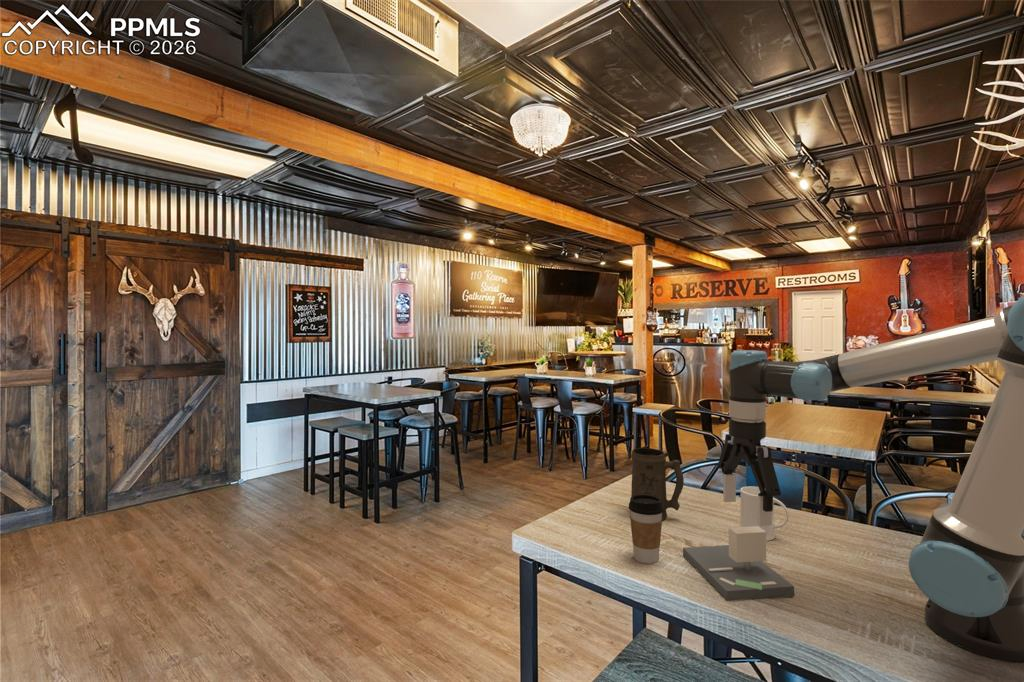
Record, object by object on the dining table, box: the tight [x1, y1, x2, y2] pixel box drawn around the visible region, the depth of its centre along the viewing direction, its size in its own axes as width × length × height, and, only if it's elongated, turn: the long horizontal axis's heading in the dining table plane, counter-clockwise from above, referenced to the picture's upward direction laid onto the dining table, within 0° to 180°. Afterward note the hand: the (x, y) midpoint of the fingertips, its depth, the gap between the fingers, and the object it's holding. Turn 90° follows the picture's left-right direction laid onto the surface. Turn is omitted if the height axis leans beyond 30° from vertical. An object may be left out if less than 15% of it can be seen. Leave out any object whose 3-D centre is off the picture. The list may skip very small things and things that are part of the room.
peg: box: [709, 526, 767, 572], centre depth 109 cm, size 3×12×9 cm, turn 96°
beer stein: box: [629, 447, 685, 522], centre depth 145 cm, size 15×11×20 cm
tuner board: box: [682, 544, 795, 601], centre depth 111 cm, size 20×15×2 cm
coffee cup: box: [628, 494, 664, 565], centre depth 119 cm, size 8×8×15 cm
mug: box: [739, 486, 790, 542], centre depth 131 cm, size 12×8×12 cm
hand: (745, 512), depth 109 cm, fingers open, 13 cm apart
